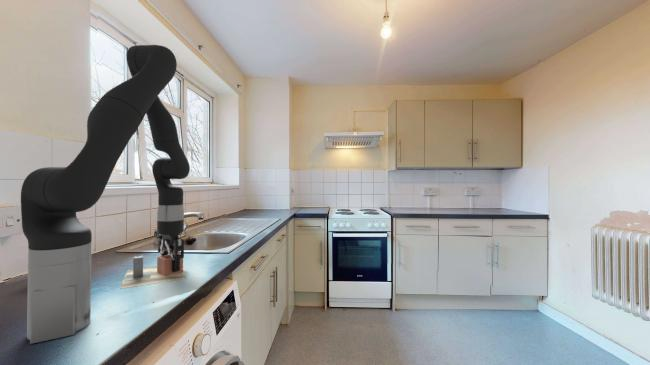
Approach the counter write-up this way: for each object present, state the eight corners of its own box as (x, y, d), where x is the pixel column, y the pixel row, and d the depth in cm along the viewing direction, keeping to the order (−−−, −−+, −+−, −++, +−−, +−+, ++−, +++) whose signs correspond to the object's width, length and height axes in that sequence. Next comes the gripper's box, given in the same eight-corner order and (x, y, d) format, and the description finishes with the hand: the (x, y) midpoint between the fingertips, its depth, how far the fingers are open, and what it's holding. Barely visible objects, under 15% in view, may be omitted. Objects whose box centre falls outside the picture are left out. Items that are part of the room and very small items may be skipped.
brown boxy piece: (185, 270, 87) (185, 255, 87) (164, 276, 82) (164, 260, 82) (178, 267, 91) (178, 252, 91) (157, 272, 86) (157, 256, 86)
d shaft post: (142, 280, 81) (142, 257, 82) (133, 282, 80) (133, 258, 80) (143, 278, 84) (143, 255, 84) (133, 279, 82) (134, 256, 82)
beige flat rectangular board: (185, 282, 81) (186, 277, 81) (119, 293, 72) (120, 288, 72) (182, 266, 96) (182, 262, 96) (127, 273, 88) (127, 269, 88)
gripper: (192, 219, 85) (192, 270, 85) (173, 215, 94) (173, 262, 94) (167, 222, 79) (166, 276, 79) (149, 217, 88) (148, 267, 88)
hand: (170, 268), depth 86 cm, fingers open, 8 cm apart
